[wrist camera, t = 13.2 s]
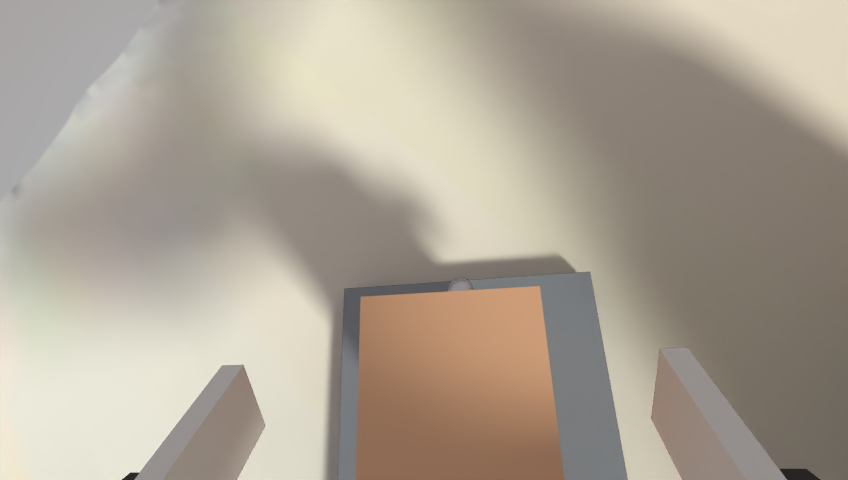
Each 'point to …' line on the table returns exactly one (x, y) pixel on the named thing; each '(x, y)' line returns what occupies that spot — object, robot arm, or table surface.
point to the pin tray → (569, 362)
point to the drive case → (456, 388)
